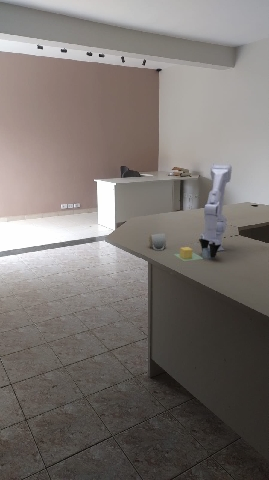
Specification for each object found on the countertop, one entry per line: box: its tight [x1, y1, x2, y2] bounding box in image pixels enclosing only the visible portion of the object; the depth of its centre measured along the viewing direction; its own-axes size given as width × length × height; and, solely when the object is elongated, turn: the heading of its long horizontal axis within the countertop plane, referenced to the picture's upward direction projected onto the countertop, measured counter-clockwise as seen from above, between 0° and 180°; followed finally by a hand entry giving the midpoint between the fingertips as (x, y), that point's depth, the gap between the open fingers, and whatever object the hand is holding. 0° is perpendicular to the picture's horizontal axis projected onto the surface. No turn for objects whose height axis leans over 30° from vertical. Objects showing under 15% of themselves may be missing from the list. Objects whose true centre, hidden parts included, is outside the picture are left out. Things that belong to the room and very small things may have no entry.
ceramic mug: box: [148, 233, 167, 252], centre depth 194 cm, size 11×8×8 cm
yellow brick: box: [179, 246, 194, 259], centre depth 179 cm, size 4×4×4 cm
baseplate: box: [173, 251, 204, 262], centre depth 182 cm, size 11×11×1 cm
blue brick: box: [201, 248, 212, 260], centre depth 181 cm, size 4×4×4 cm
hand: (208, 255), depth 181 cm, fingers open, 7 cm apart
